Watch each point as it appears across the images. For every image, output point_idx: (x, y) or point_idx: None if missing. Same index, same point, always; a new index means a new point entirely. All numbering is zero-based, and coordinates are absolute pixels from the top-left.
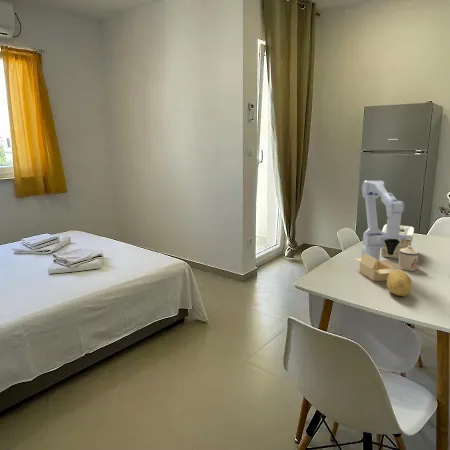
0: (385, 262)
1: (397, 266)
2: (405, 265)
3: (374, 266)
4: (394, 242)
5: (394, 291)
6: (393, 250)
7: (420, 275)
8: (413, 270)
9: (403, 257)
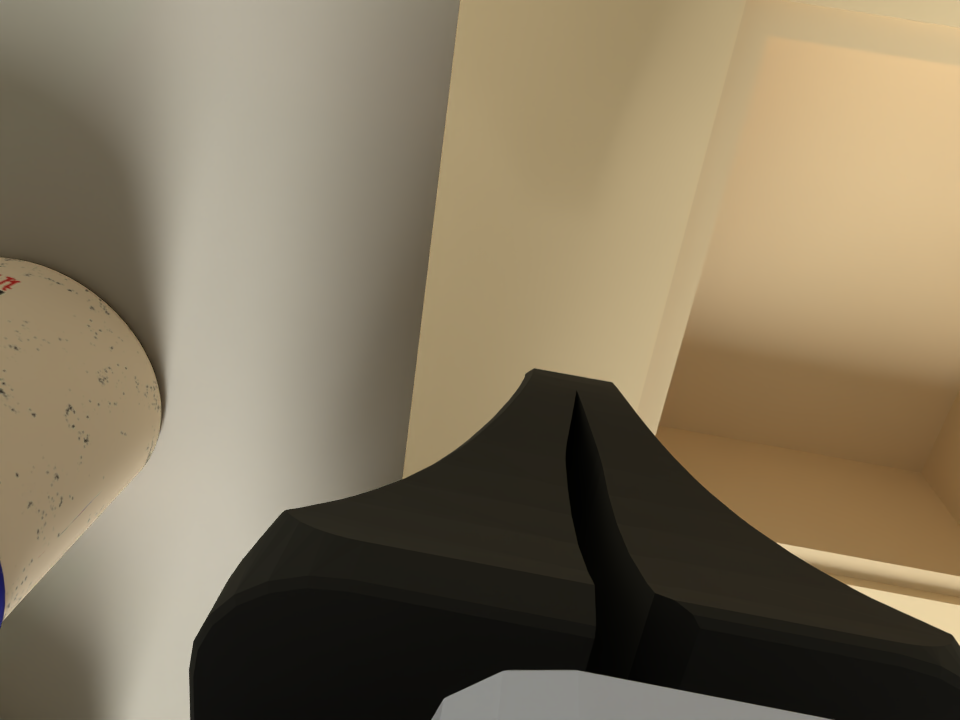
0: None
1: (513, 111)
2: (85, 354)
3: (693, 475)
4: (697, 598)
5: None
6: (546, 415)
7: (20, 29)
8: (4, 260)
9: (27, 471)
